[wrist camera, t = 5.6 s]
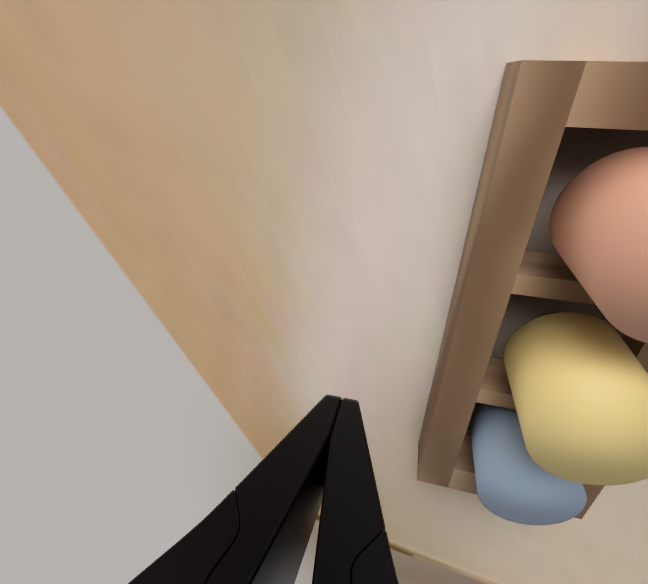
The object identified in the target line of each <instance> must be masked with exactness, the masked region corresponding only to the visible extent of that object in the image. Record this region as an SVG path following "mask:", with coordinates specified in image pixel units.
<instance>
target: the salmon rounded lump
mask: <svg viewBox="0 0 648 584" xmlns="http://www.w3.org/2000/svg"><path fill="white" fill-rule="evenodd" d="M549 226H550V236H551V240H552V243H553V245H554V247H555V249H556V251H557V252H558V254H559V255H560V256H561V258H562V259H563V260H564V262H565V263H566V264H567V266H568V267H569V269H570V270H571V271H572V273H573V274H574V275H575V277H576V278H577V279H578V281H579V282H580V284H581V285H582V286H583V288H584V289H585V290H586V292H587V293H588V294H589V296H590V297H591V299H592V300H593V301H594V303H595V304H596V305H597V307H598V308H599V309H600V311H601V312H602V314H603V315H604V316H605V318H606V319H607V320H608V321H609V322H610V323H611V324H612V325H613V326H614V327H615V328H616V329H618V330H619V331H621V332H622V333H624V334H626V335H627V336H629V337H632V338H634V339H636V340H639V341H642V342H645V343H648V147H637V148H630V149H626V150H622V151H619V152H616V153H613V154H610V155H608V156H605V157H603V158H601V159H599V160H597V161H596V162H594V163H592V164H590V165H589V166H588V167H586V168H585V169H583V170H582V171H581V172H580V173H578V174H577V175H576V176H575V177H574V178H573V179H572V180H571V181H570V182H569V183H568V184H567V185H566V187H565V188H564V189H563V191H562V192H561V193H560V195H559V197H558V198H557V200H556V202H555V205H554V207H553V209H552V213H551V217H550V225H549Z"/></svg>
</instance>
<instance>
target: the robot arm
mask: <svg viewBox="0 0 648 584" xmlns="http://www.w3.org/2000/svg"><path fill="white" fill-rule="evenodd" d="M321 503H322V506H321ZM320 506H321V514H320V522H319V530H318V540H317V547H316V555H315V563H314V571H313V580H312V584H399V583H398V579H397V576H396V571H395V567H394V563H393V559H392V555H391V551H390V546H389V542H388V537H387V533H386V531H385V524H384V519H383V514H382V510H381V505H380V500H379V496H378V491H377V486H376V482H375V477H374V472H373V468H372V463H371V458H370V453H369V449H368V444H367V439H366V435H365V430H364V425H363V421H362V416H361V411H360V407H359V403H358V401H357V400H352V399H347V398H343V399H342V398H340V397H337V396H332V395H326V396H325V397H324V398H323V399H322V400H321V401H320V402H319V403H318V404H317V405H316V406H315V407H314V408H313V409H312V410H311V411H310V412H309V413H308V414H307V415H306V416H305V417H304V418H303V419H302V420H301V421H300V422H299V423H298V424H297V425H296V426H295V427H294V428H293V429H292V430H291V431H290V432H289V433H288V435H287V436H286V437H285V438H284V439H283V440H282V441H281V442H280V443H279V444H278V445H277V446H276V447H275V448H274V449H273V450H272V451H271V452H270V453H269V454H268V455H267V456H266V457H265V458H264V459H263V460H262V461H261V462H260V463H259V464H258V465H257V466H256V468H254V469H253V470H252V471H251V472H250V473H249V475H247V477H246V478H245V479H244V480H243V481H242V482H241V483H240V484H239V485H238V486H237V487H236V488H235V491H234V490H233V491H232V492H231V493H230V494H229V495H228V496H227V497H226V498H225V499H224V500H223V501H222V502H221V503H220V504H219V505H218V506H217V507H216V508H215V509H214V510H213V511H212V512H211V513H210V514H209V515H208V516H207V517H206V518H204V520H202V521H201V522H200V523H199V524H198V525H197V526H196V527H194V528H193V529H192V530H191V531H190V532H189V533H188V534H186V535H185V536H184V537H183V538H182V539H181V540H180V541H178V542H177V543H176V544H175V545H174V546H172V547H171V548H170V549H169V550H168V551H166V552H165V553H164V554H163V555H162V556H160V557H159V558H158V559H157V560H156V561H155V562H153V563H152V564H151V565H150V566H148V567H147V568H146V569H145V570H144V571H143V572H141V573H140V574H139V575H138V576H137V577H135V578H134V579H133V580H132V581H131V582H129V583H128V584H294V583H295V580H296V577H297V574H298V571H299V568H300V565H301V562H302V559H303V556H304V553H305V550H306V547H307V544H308V541H309V538H310V535H311V532H312V529H313V526H314V524H315V521H316V518H317V515H318V512H319V509H320Z"/></svg>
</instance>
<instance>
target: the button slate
mask: <svg viewBox="0 0 648 584" xmlns="http://www.w3.org/2000/svg"><path fill="white" fill-rule="evenodd" d="M469 424H470V433H471V442H472V451H473V459H474V468H475V477H476V486H477V493H478V497H479V499H480V501H481V503H482V504H483V505H484V506H485V507H486V508H487V509H488V510H489V511H491V512H492V513H494V514H495V515H497V516H499V517H501V518H504V519H506V520H509V521H512V522H516V523H521V524H527V525H550V524H557V523H561V522H564V521H567V520H569V519H571V518H573V517H575V516H576V515H578V514H579V513H580V512H581V511H582V510H583V509H584V507H585V505H586V501H587V496H586V492H585V489H584V487H583V484H582V483H576V482H572V481H568V480H565V479H562V478H559V477H557V476H555V475H553V474H551V473H549V472H547V471H546V470H544V469H543V468H541V467H540V466H539V465H538V464H537V463H536V462H535V461H534V460H533V459H532V458H531V456H530V455H529V453H528V451H527V448H526V445H525V441H524V438H523V434H522V430H521V426H520V422H519V418H518V415H517V411H516V410H515V409H509V408H504V407H499V406H494V405H488V404H483V403H478V402H476V403H475V406H474V409H473V412H472V415H471V419H470V422H469Z"/></svg>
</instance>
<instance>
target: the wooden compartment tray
mask: <svg viewBox="0 0 648 584" xmlns="http://www.w3.org/2000/svg"><path fill="white" fill-rule="evenodd" d="M565 127H582V128H604V129H625V130H647V131H648V62H607V61H534V60H521V61H516V62H511V63H507V64H506V68H505V72H504V77H503V81H502V85H501V90H500V94H499V98H498V103H497V107H496V111H495V115H494V120H493V124H492V128H491V133H490V137H489V141H488V146H487V150H486V154H485V159H484V163H483V167H482V172H481V176H480V180H479V184H478V189H477V193H476V197H475V202H474V206H473V210H472V215H471V219H470V223H469V228H468V232H467V236H466V241H465V245H464V249H463V254H462V258H461V262H460V266H459V271H458V275H457V279H456V284H455V288H454V292H453V297H452V301H451V305H450V310H449V314H448V318H447V323H446V327H445V331H444V335H443V340H442V344H441V348H440V353H439V357H438V361H437V366H436V370H435V374H434V379H433V383H432V387H431V392H430V396H429V400H428V404H427V409H426V413H425V417H424V422H423V426H422V430H421V435H420V439H419V444H418V477H417V480H419V481H423V482H427V483H431V484H436V485H440V486H444V487H448V488H453V489H457V490H461V491H465V492H470V493H474V494H478V493H477V486H476V477H475V468H474V459H473V451H472V442H471V435H469V434H466V431H467V428H468V425H469V422H470V419H471V415H472V412H473V409H474V406H475V403H476V402H478V403H483V404H488V405H494V406H499V407H504V408H509V409H515V410H516V407H515V403H514V399H513V395H512V391H511V388H510V384H509V380H508V376H507V372H506V368H505V365H504V359H502V358H496V357H491V354H492V351H493V348H494V345H495V342H496V339H497V335H498V332H499V329H500V326H501V323H502V320H503V317H504V314H505V311H506V308H507V305H508V302H509V299H510V295H511V294H518V295H526V296H533V297H541V298H548V299H556V300H564V301H571V302H579V303H586V304H594V305H596V304H595V303H594V301H593V300H592V299H591V297H590V296H589V294H588V293H587V292H586V290H585V289H584V288H583V286H582V285H581V284H580V282H579V281H578V279H577V278H576V277H575V275H574V274H573V273H572V271H571V270H570V269H569V267H568V266H567V264H566V263H565V262H564V260H563V259H562V258H561V256H560V255H559V254H557V253H547V252H538V251H529V250H525V249H526V246H527V243H528V240H529V237H530V234H531V231H532V228H533V225H534V222H535V219H536V216H537V212H538V209H539V206H540V203H541V200H542V197H543V194H544V191H545V188H546V185H547V182H548V179H549V176H550V172H551V169H552V166H553V163H554V160H555V157H556V154H557V151H558V148H559V145H560V142H561V139H562V136H563V132H564V129H565ZM608 324H610V325H611V326H612V327H613V328H614V329H615V330H616V331H617V332H618V334H619V335H620V336H621V338H622V339H623V341H624V342H625V343H626V345H627V346H628V347H629V349H630V350H631V351H632V353H633V354H634V355H635V357H636V358H637V360H638V361H639V362H640V364H641V365H642V366H643V368H644V369H645V370H646V372H647V373H648V343H645V342H642V341H639V340H636V339H634V338H632V337H629V336H627V335H626V334H624V333H622V332H621V331H619V330H618V329H616V328H615V327H614V326H613V325H612V324H611V323H610V322H609V323H608ZM604 486H605V485H589V484H583V487H584V489H585V492H586V496H587V501H586V505H585V507H584V509H583V510H582V511H581V512H580V513H579V514H578V515H576V516H575V518H579V519H582V518H583V516H584V515H585V513H586V512H587V510H588V509H589V508H590V506H591V505H592V503H593V502H594V500H595V499H596V497H597V496H598V494H599V493H600V492H601V490H602V489H603V487H604Z"/></svg>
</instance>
